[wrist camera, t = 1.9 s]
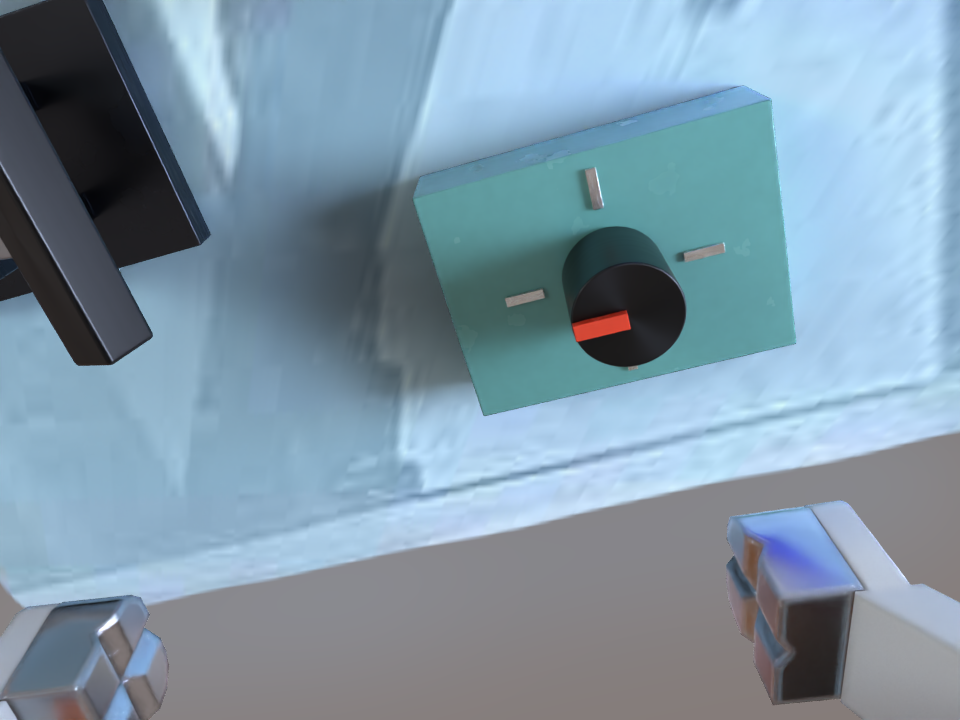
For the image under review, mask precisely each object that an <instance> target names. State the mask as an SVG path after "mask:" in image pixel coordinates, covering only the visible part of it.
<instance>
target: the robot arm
mask: <svg viewBox="0 0 960 720" xmlns="http://www.w3.org/2000/svg"><path fill="white" fill-rule="evenodd" d="M727 541H728V543H729V545H730V547H731V549H732V551H733V554H734V556H733V557H732V559H731V560H730V561H729V562H728V564H727V565H726V580H727V581H726V583H727V590H728V596H729V602H730V606H731V609H732V612H733V615H734V619H735V621H736V624H737V626H738V628H739V630H740V633H741V635H742V636H744V637H745V638H747V639H748V640H750V641H752V642H753V643H754V658H753V662H754V665H755V667H756V669H757V671H758V673H759V676H760V678H761V680H762V682H763V684H764V687H765V689H766V691H767V693H768V695H769V698H770V700H771V702H772V704H773V705H779V704H789V703H800V702H810V701H820V700H830V699H841V703H842V704H844V705H845V706H846V707H847V708H849V709H850V710H851V711H852V712H854V713H855V714H856V715H857V716H858V717H860V718H861V719H862V720H960V602H958V601H956V600H954V599H951V598H950V597H948V596H946V595H944V594H942V593H940V592H938V591H936V590H934V589H932V588H930V587H928V586H926V585H924V584H917V585H910V583H909V582H908V581H907V579H906V578H905V577H904V575H903V574H902V573H901V571H900V570H899V569H898V568H897V566H896V565H895V564H894V562H893V561H892V560H891V558H890V557H889V556H888V554H887V553H886V552H885V550H884V549H883V548H882V547H881V545H880V544H879V543H878V541H877V540H876V539H875V537H874V536H873V535H872V533H871V532H870V531H869V530H868V528H867V527H866V526H865V525H864V523H863V522H862V520H861V519H860V518H859V516H858V515H857V514H856V513H855V511H854V510H853V509H852V507H851V506H850V505H849V504H848V503H846V502H844V501H842V500H839V501H832V502H826V503H820V504H813V505H806V506H804V507H796V508H789V509H782V510H775V511H767V512H760V513H753V514H746V515H738V516H731V517H730V519H729V522H728V525H727ZM149 615H150V614H149V612H148V610H147V608H146V606H145V605H144V603H143V601H142V599H141V597H137V596H133V595H126V596H116V597H107V598H98V599H88V600H79V601H69V602H62V603H59V604H48V605H39V606H29V607H26V608H25V609H23V610H21V611H20V612H18V613H17V614H16V615H15V616H14V618H13V619H12V621H11V622H10V624H9V625H8V627H7V628H6V630H5V632H4V633H3V634H2V636H1V637H0V720H149V719H150V718H151V717H152V716H153V715H154V714H155V713H156V712H157V711H158V710H159V709H160V707H161V705H162V702H163V699H164V696H165V693H166V690H167V683H168V673H169V664H168V659H167V653H166V649H165V647H164V645H163V643H162V640H161V638H159V637H158V636H156V635H155V634H153V633H152V632H150V631H149V630H147V629H146V628H144V627H145V625H146V622H147V620H148V618H149Z"/></svg>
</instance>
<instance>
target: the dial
mask: <svg viewBox="0 0 960 720" xmlns="http://www.w3.org/2000/svg"><path fill="white" fill-rule="evenodd" d="M562 285H563V290H564V295H565V299H566V304H567V309H568V313H569V318H570V323H571V327H572V331H573V334H574V337H575V339H576V342H577V343H578V344H579V346H580V347H581V348H582V349H583V350H584V351H585V353H587V354H588V355H589V356H590V357H592V358H594V359H595V360H597V361H599V362H601V363H604V364H607V365H610V366H616V367H633V366H638V365H642V364H645V363H648V362H650V361H653V360H655V359H656V358H658V357H660V356H661V355H663V354H664V353H665V352H666V351H668V350H669V349H670V348H671V347H672V346H673V344H674V343H675V342H676V341H677V339H678V338H679V336H680V334H681V332H682V330H683V327H684V324H685V321H686V316H687V305H686V299H685V295H684V293H683V290H682V288H681V287H680V285H679V283H678V281H677V280H676V278H675V276H674V274H673V273H672V271H671V269H670V268H669V266H668V264H667V262H666V261H665V259H664V257H663V255H662V254H661V252H660V250H659V249H658V247H657V245H656V244H655V243H654V242H653V241H652V240H651V239H650V238H649V237H648V236H646V235H645V234H643V233H642V232H640V231H638V230H635V229H632V228H628V227H619V226H615V227H606V228H602V229H599V230H596V231H594V232H592V233H590V234H588V235H586V236H585V237H583V238H582V239H581V240H580V241H579V242H578V243H577V244H576V245H575V246H574V247H573V248H572V250H571V251H570V252H569V254H568V256H567V258H566V260H565V263H564V266H563V271H562Z"/></svg>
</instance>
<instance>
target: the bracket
mask: <svg viewBox="0 0 960 720" xmlns="http://www.w3.org/2000/svg"><path fill="white" fill-rule="evenodd" d="M0 48H1V49H2V51H3V53H4V55H5V57H6V59H7V61H8V63H9V65H10V66H11V68H12V70H13V72H14V74H15V76H16V78H17V80H18V81H19V83H20V85H21V87H22V89H23V91H24V93H25V95H26V96H27V98H28V100H29V102H30V104H31V106H32V108H33V110H34V111H35V113H36V115H37V117H38V119H39V121H40V123H41V125H42V127H43V128H44V130H45V132H46V134H47V136H48V138H49V140H50V142H51V143H52V145H53V147H54V149H55V151H56V153H57V155H58V157H59V158H60V160H61V162H62V164H63V166H64V168H65V170H66V172H67V173H68V175H69V177H70V179H71V181H72V183H73V185H74V187H75V189H76V190H77V192H78V194H79V196H80V198H81V200H82V202H83V204H84V205H85V207H86V209H87V211H88V213H89V215H90V217H91V219H92V220H93V222H94V224H95V226H96V228H97V230H98V232H99V234H100V236H101V237H102V239H103V241H104V243H105V245H106V247H107V249H108V251H109V252H110V254H111V256H112V258H113V260H114V262H115V264H116V266H117V267H118V268H121V267H124V266H128V265H131V264H135V263H138V262H142V261H146V260H149V259H153V258H156V257H160V256H163V255H167V254H170V253H174V252H178V251H181V250H185V249H188V248H192V247H195V246H199V245H201V244H202V243H203V242H204V241H205V240H206V239H207V238H208V237H209V236H210V232H209V230H208V228H207V225H206V223H205V221H204V219H203V217H202V215H201V212H200V210H199V208H198V206H197V204H196V202H195V199H194V197H193V195H192V193H191V191H190V189H189V187H188V184H187V182H186V180H185V178H184V176H183V174H182V171H181V169H180V167H179V165H178V163H177V161H176V158H175V156H174V154H173V152H172V150H171V148H170V145H169V143H168V141H167V139H166V137H165V135H164V132H163V130H162V128H161V126H160V124H159V122H158V120H157V117H156V115H155V113H154V111H153V109H152V107H151V104H150V102H149V100H148V98H147V96H146V94H145V91H144V89H143V87H142V85H141V83H140V81H139V78H138V76H137V74H136V72H135V70H134V68H133V66H132V63H131V61H130V59H129V57H128V55H127V53H126V50H125V48H124V46H123V44H122V42H121V40H120V37H119V35H118V33H117V31H116V29H115V27H114V24H113V22H112V20H111V18H110V16H109V14H108V11H107V9H106V7H105V5H104V3H103V1H102V0H45V1H42V2H39V3H37V4H34V5H31V6H28V7H25V8H22V9H19V10H16V11H13V12H10V13H7V14H4V15H1V16H0ZM31 292H32V290H31V289H30V287H29V285H28V284H27V282H26V280H25V279H24V277H23V275H22V274H21V272H20V270H19V269H18V267H17V265H16V263H15V262H14V260H13V258H11V259H4V260H0V301H3V300H7V299H10V298H14V297H17V296H21V295H24V294H28V293H31Z"/></svg>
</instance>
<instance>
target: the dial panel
mask: <svg viewBox="0 0 960 720" xmlns="http://www.w3.org/2000/svg"><path fill="white" fill-rule="evenodd" d="M413 203H414V206H415V209H416V212H417V215H418V218H419V221H420V224H421V227H422V230H423V233H424V236H425V239H426V242H427V245H428V248H429V251H430V254H431V257H432V260H433V264H434V267H435V270H436V273H437V276H438V279H439V282H440V285H441V288H442V291H443V294H444V297H445V300H446V303H447V306H448V309H449V312H450V315H451V318H452V321H453V324H454V327H455V330H456V333H457V336H458V340H459V343H460V346H461V349H462V352H463V355H464V358H465V361H466V364H467V367H468V370H469V373H470V376H471V379H472V382H473V385H474V388H475V391H476V394H477V397H478V400H479V403H480V406H481V409H482V412H483V415H484V416H487V415H492V414H496V413H500V412H505V411H509V410H513V409H518V408H522V407H526V406H530V405H535V404H539V403H543V402H548V401H552V400H556V399H560V398H565V397H569V396H573V395H578V394H582V393H586V392H590V391H595V390H599V389H603V388H608V387H612V386H616V385H621V384H625V383H629V382H633V381H638V380H642V379H646V378H651V377H655V376H659V375H663V374H668V373H672V372H676V371H681V370H685V369H689V368H694V367H698V366H702V365H706V364H711V363H715V362H719V361H724V360H728V359H732V358H736V357H741V356H745V355H749V354H754V353H758V352H762V351H766V350H771V349H775V348H779V347H784V346H788V345H792V344H796V335H795V326H794V316H793V306H792V296H791V287H790V277H789V267H788V257H787V247H786V238H785V228H784V218H783V208H782V199H781V189H780V179H779V169H778V159H777V150H776V140H775V130H774V120H773V111H772V101H771V99H770V98H768V97H766V96H764V95H762V94H760V93H758V92H756V91H754V90H752V89H750V88H748V87H746V86H740V87H736V88H733V89H729V90H726V91H722V92H718V93H715V94H711V95H708V96H704V97H701V98H697V99H694V100H690V101H687V102H683V103H679V104H676V105H672V106H669V107H665V108H662V109H658V110H655V111H651V112H648V113H644V114H640V115H637V116H633V117H630V118H626V119H623V120H619V121H616V122H612V123H608V124H605V125H601V126H598V127H594V128H591V129H587V130H584V131H580V132H577V133H573V134H569V135H566V136H562V137H559V138H555V139H552V140H548V141H545V142H541V143H538V144H534V145H530V146H527V147H523V148H520V149H516V150H513V151H509V152H506V153H502V154H499V155H495V156H491V157H488V158H484V159H481V160H477V161H474V162H470V163H467V164H463V165H460V166H456V167H452V168H449V169H445V170H442V171H438V172H435V173H431V174H428V175H424V176H421V177H420V178H419V181H418V184H417V187H416V190H415V193H414V196H413ZM615 226H619V227H628V228H632V229H635V230H638V231H640V232H642V233H643V234H645V235H646V236H648V237H649V238H650V239H651V240H652V241H653V242H654V243H655V244H656V245H657V247H658V249H659V250H660V252H661V254H662V255H663V257H664V259H665V261H666V262H667V264H668V266H669V268H670V269H671V271H672V273H673V274H674V276H675V278H676V280H677V281H678V283H679V285H680V287H681V288H682V290H683V293H684V295H685V299H686V305H687V316H686V321H685V324H684V327H683V330H682V332H681V334H680V336H679V338H678V339H677V341H676V342H675V343H674V344H673V346H672V347H671V348H670V349H669V350H668V351H666V352H665V353H664V354H663V355H661V356H660V357H658V358H656V359H655V360H653V361H650V362H648V363H645V364H642V365H638V366H633V367H616V366H610V365H607V364H604V363H601V362H599V361H597V360H595V359H594V358H592V357H590V356H589V355H588V354H587V353H585V351H584V350H583V349H582V348H581V347H580V346H579V344H578V343H577V342H576V339H575V337H574V334H573V331H572V327H571V323H570V318H569V313H568V309H567V304H566V299H565V295H564V290H563V285H562V271H563V266H564V263H565V260H566V258H567V256H568V254H569V252H570V251H571V250H572V248H573V247H574V246H575V245H576V244H577V243H578V242H579V241H580V240H581V239H582V238H583V237H585V236H586V235H588V234H590V233H592V232H594V231H596V230H599V229H602V228H606V227H615Z"/></svg>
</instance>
